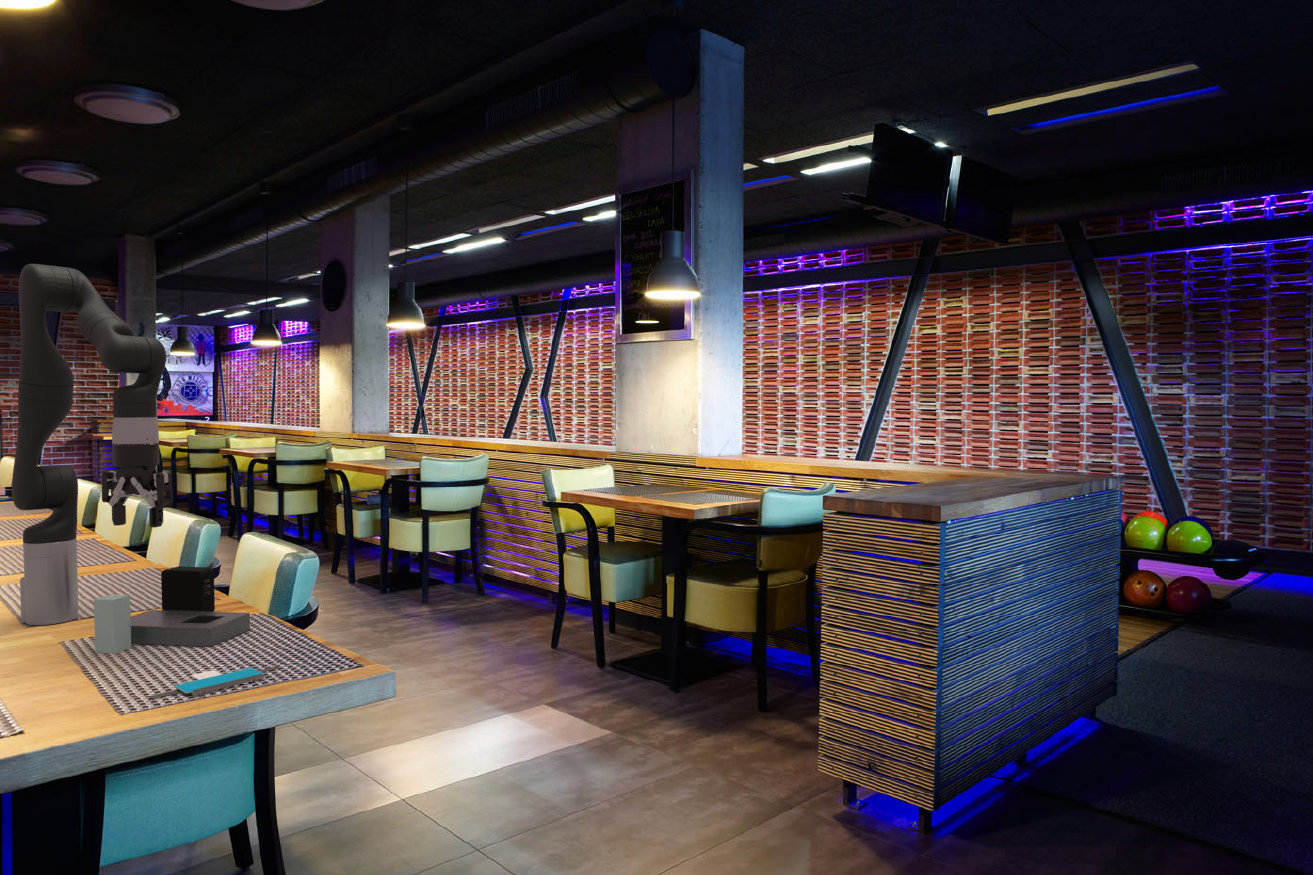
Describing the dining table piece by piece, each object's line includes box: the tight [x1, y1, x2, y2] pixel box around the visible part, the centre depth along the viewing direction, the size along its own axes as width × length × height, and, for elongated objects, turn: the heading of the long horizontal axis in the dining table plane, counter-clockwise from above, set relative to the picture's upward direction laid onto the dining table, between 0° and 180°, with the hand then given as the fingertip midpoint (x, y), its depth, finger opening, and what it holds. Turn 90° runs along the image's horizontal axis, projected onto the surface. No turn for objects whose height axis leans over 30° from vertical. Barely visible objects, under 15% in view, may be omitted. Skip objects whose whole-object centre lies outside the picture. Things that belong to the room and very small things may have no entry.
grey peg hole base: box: [130, 609, 251, 648], centre depth 164 cm, size 22×12×4 cm, turn 83°
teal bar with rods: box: [149, 666, 280, 699], centre depth 137 cm, size 20×12×2 cm, turn 139°
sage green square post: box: [93, 594, 132, 654], centre depth 154 cm, size 4×4×10 cm
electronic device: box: [160, 565, 216, 612], centre depth 182 cm, size 4×10×10 cm, turn 79°
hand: (137, 526), depth 157 cm, fingers open, 8 cm apart
